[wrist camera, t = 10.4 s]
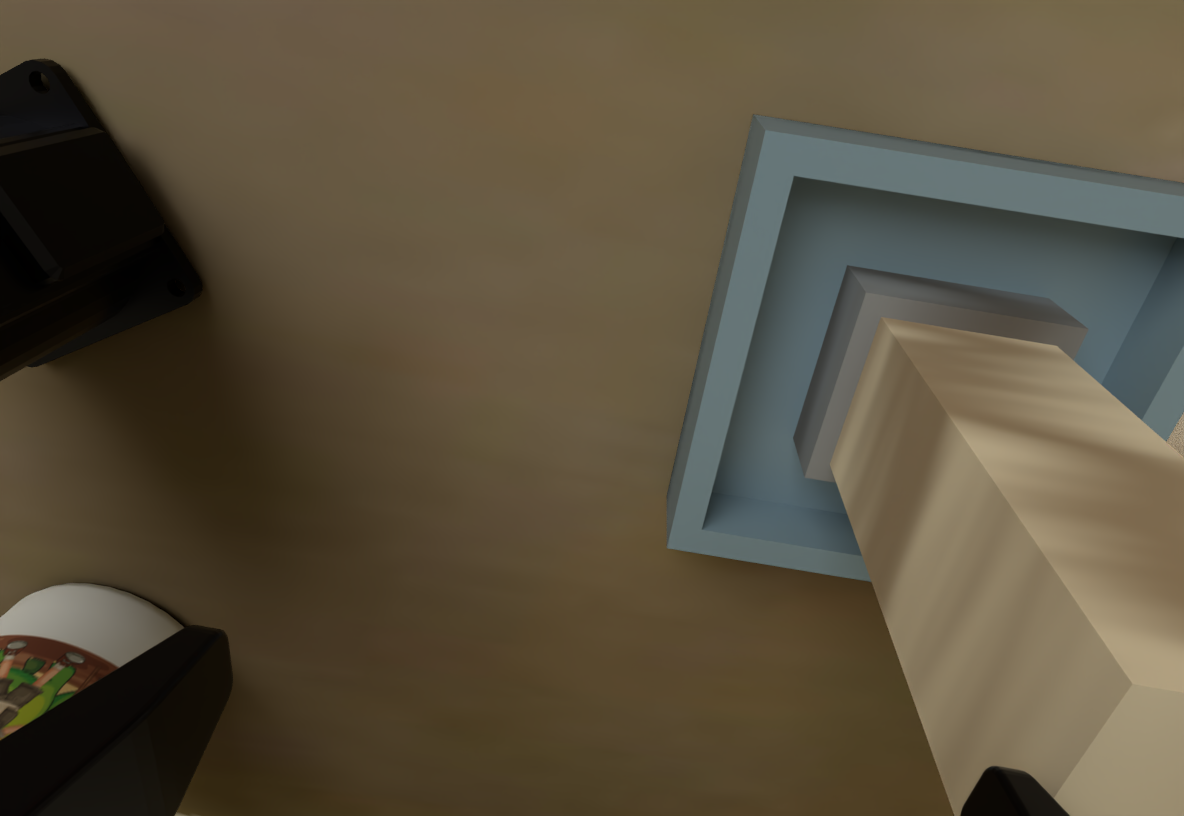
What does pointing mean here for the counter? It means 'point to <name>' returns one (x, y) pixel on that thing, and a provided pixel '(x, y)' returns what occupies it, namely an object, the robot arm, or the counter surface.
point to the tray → (911, 247)
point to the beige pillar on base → (1009, 537)
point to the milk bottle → (70, 645)
